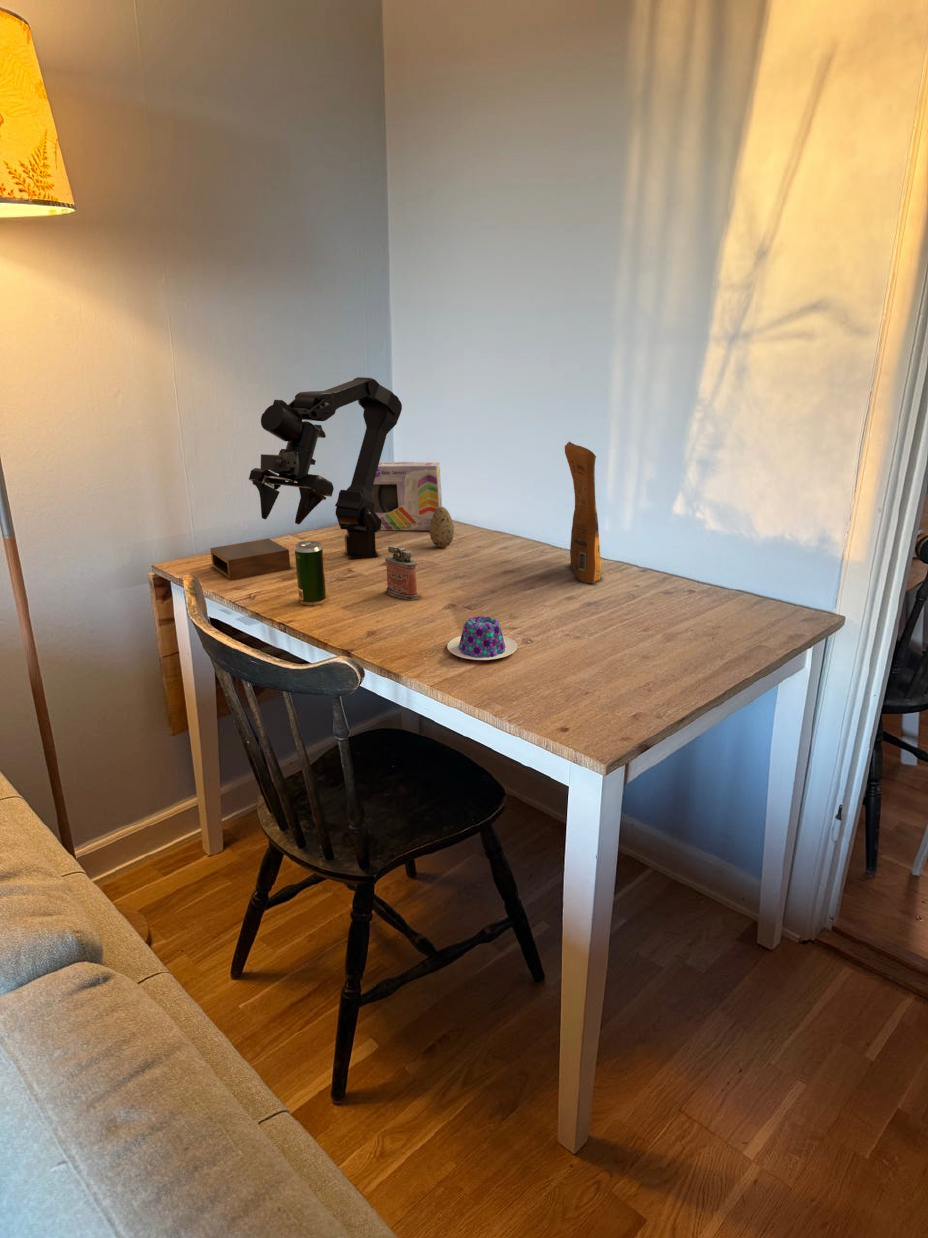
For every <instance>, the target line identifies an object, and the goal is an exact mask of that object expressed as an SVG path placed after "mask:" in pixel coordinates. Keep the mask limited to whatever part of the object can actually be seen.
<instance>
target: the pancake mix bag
mask: <svg viewBox="0 0 928 1238" xmlns="http://www.w3.org/2000/svg"><path fill="white" fill-rule="evenodd" d="M564 455H565V457H566V460H567V464H568V467H569V471H570V475H571V478H572V483H573V492H574V510H573V515H572V522H571V523H572V524H571V532H570V534H571V535H570V545H569V546H570V547H569V548H570V549H569V556H570V557H569V558H570V567H571V570H572V571H573V573H574V574H575V576H576V578H577V579H578V581H580V582H582V583H587V584H594V585H595V582H598V581H600V579H601V574H602V573H601V572H602V560H601V543H600V532H599V531H600V529H599V520H598V519H599V518H598V509H597V502H596V501H597V500H596V473H595V472H596V467H595V466H596V460H597V455H596V454H595V453H594V452H593V451H592V450H590V449H588V448H587V447H584V446H581V445H577V444H575V443H572V442H571V441H568V442H566V444H565V445H564Z"/></svg>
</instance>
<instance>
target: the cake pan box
mask: <svg viewBox="0 0 928 1238" xmlns="http://www.w3.org/2000/svg"><path fill="white" fill-rule="evenodd" d="M440 464H441V463H440V462H439V461H435V462H434V461H433V462H431V461H430V462H429V461H427V462H425V461H423V462H422V461H421V462H420V461H419V462H418V461H379V465H378V469H377V472H376V476H375V480H374V483H373V487H372V492H371V493H372V496H373V500H374V503H375V506H374V512H375V513H376V515H377V516H378V517H379V518H380V519H381V521H382V523H381V529H380V530H379V531H430V524H431V520H432V517H433V514H434V513H435V511H436V510H437V509H438V508H439V507H443V497H442V481H441V467H440V466H441V465H440Z"/></svg>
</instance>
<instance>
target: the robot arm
mask: <svg viewBox="0 0 928 1238" xmlns="http://www.w3.org/2000/svg"><path fill="white" fill-rule="evenodd" d="M355 402H357V403H358V405H359V406H360V407H361V408H362V409H363V413H362V416H363V421H364V424H365V431H364V435H363V439H362V443H361V446H360V449H359V450H360V451H359V454H358V457H357V460H356V465H355V468H354V472H353V476H352V479H351V483H350V485H349V486H348V487H347V489H340V491H339V492H338V496H337V501H336V502H335V517H336V520H337V522H338V526H339V528H340V530H346V534H345V535H344V550H345V553H346V554H347V556H348V557H349V558H350V559H351V560H353V559H355V560H356V559H365V558H374V557H378V556H379V554H378V552H377V548H376V546H377V545H376V544H377V543H376V533H378V532H379V531H381V530H380V529H381V523H382V521H381V519H380V518H379V517H378V516H377V515H376V513H375V512H374V506H375V503H374V500H373V496H372V493H371V492H372V487H373V483H374V480H375V476H376V472H377V469H378V465H379V462H381V458H382V453H383V449H384V447H385V443H386V439H387V436H388V434H389V432H391V430H392V429H394V428H395V426H396V425H397V424H398V422H399V419H400V416H401V414H402V411H403V404H402V402H401V400H400V398H399V396H397V395H396V394H395V393H394V392H393V391H392V390H390V389H388V388H386V387H384V386H383V385H382V384H380V383H379V382H378V381H377V380H376V379H375V378H373V377H364V376H363V377H362V376H357V377H356V378H353V379H352V380H350V381H347V382H344V383H341V384H338V385H335V386H333V387H330V388H328V389H325V390H313V391H311V390H310V391H300V392H298V393H296V394H295V396H294V399H293V400H291V402H289V403H288V404H287V402H286V401H284V400H283V399H274V400H273V403H272V404H271V405H270V406H269V405H268V407H267V408H266V409H265V410H264V412H263V413H262V414H261V416H260V424H261V428H262V429H263V430H264V431H267V432H268V433H269V434H271V435H273V436H275V437H276V438H278V439H280V440H281V441H283V442H287V443H286V445H285V446H286V447H285V448H281V449H280V450H279V451H278V454H265V453H264V454H263V453H262V454H261V453H260V468H258V467H255V468H253V469H251V470H250V473H249V477H248V480H249V481H250V482H251V483H252V485H253V486H255V487H256V489H257V491H258V493H259V500H260V514H261V519H263V520H267V519H268V517H269V515H270V514H271V512H272V510H273V507H274V506H275V503H276V502H277V499H278V497H279V495H280V490H279V489H280V488H281V487H282V486H285V487H294V488H298V490H299V495H300V498H299V502H298V506H297V510H296V514H295V519H294V520H295V521H294V523H295V525H301V524H302V522H303V521H304V520H305V519H306V518H307V517H308V515H310V513H311V512H312V511H313V510H314V509H315V508H316V507H317V506H318V505H319V504H320V503H321V502H322V501H326V499H327V497H330V498H332V497H333V493H334V489H335V488H334V484H333V482H332V481H331V480H328V479H326V478H325V477H323V476H322V475H319V474H312V473H309V472H310V468H311V466H316V462H317V460H316V459H314V458H313V457H314V454H315V450H316V447H317V444H318V443H317V442H318V440H319V439H325V438H326V437H327V435H326V432H325V431H324V429H323V426H322V425H321V424H314V423H312V421H313V422H325V421H327V420H328V419H330V418H331V417H333V416H334V415H335V414H336V412H337V410H338V409H340V408H342V407H344V406H347V405H350V404H352V403H355Z"/></svg>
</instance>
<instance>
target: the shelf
mask: <svg viewBox="0 0 928 1238" xmlns="http://www.w3.org/2000/svg"><path fill="white" fill-rule="evenodd" d="M210 557H211V567H212V568H213V569H214V570H216V571H218V572H219V573H220V574H222V575H223V576H224V577H226V578H227V579H228V580H229V581H233V580H238V579H242V578H248V577H254V576H258V575H264V574H270V573H276V572H280V571H286V570H291V560H290V550H289V548H286V547H285V546H283V545H281V544H279V543H277V542H275V541H274V540H272V539H270V538H265V539H257V540H252V541H245V542H240V543H233V544H228V545H221V546H213V547H210Z"/></svg>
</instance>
